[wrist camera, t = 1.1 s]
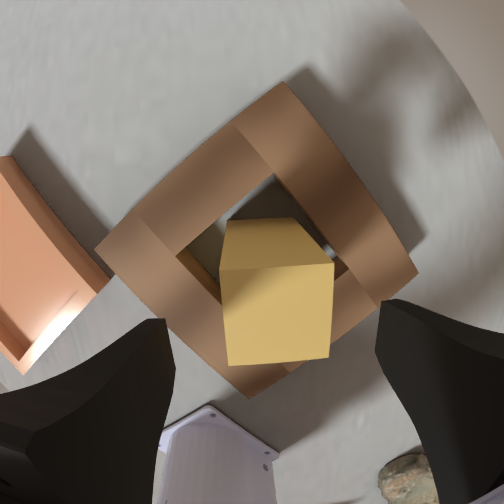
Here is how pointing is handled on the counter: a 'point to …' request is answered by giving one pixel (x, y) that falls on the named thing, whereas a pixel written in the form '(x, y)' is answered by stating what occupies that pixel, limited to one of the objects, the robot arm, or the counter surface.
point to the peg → (274, 292)
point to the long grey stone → (408, 481)
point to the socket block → (227, 195)
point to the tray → (37, 271)
